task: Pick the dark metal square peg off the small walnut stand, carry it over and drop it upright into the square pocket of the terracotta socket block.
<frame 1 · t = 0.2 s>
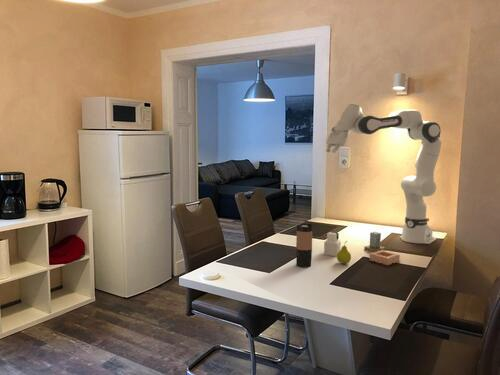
hand: (330, 152, 229), 54 cm above the table, tool tilted 30°, fingers open, 8 cm apart
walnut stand: (374, 250, 224), on the table
medicine bottle: (332, 254, 217), on the table
terracotta socket: (384, 260, 206), on the table
travel mug: (303, 265, 198), on the table
fruit: (343, 263, 201), on the table
metal peg: (374, 247, 224), point 2 cm above the table, touching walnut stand
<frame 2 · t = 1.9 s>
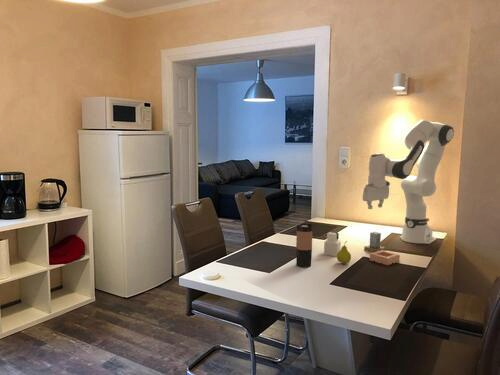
hand: (375, 208, 221), 24 cm above the table, tool pointing down, fingers open, 8 cm apart
nothing on the table moved.
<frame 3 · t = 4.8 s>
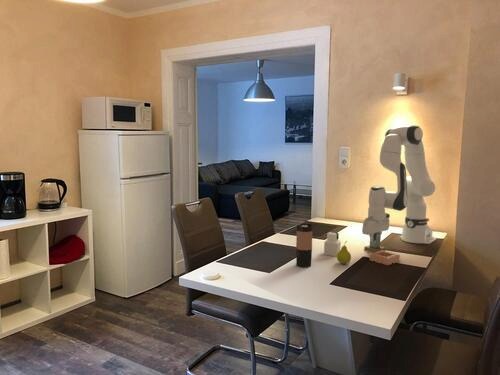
hand: (375, 240, 223), 6 cm above the table, tool pointing down, fingers closed on metal peg, 4 cm apart
metal peg: (374, 247, 224), point 2 cm above the table, touching gripper, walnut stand
everything else where it was.
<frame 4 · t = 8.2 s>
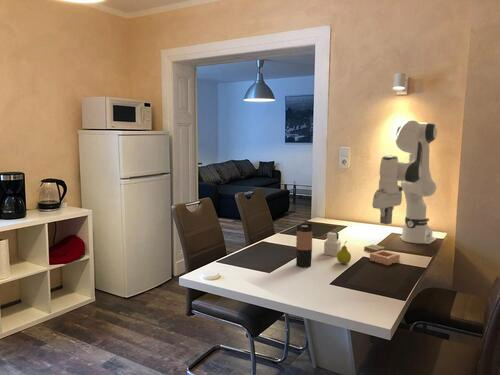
hand: (386, 215, 203), 23 cm above the table, tool pointing down, fingers closed on metal peg, 4 cm apart
metal peg: (385, 223, 203), point 19 cm above the table, touching gripper
everything else where it was.
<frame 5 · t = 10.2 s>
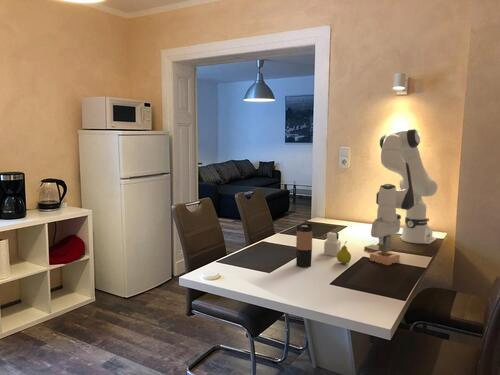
hand: (384, 243, 204), 9 cm above the table, tool pointing down, fingers closed on metal peg, 4 cm apart
metal peg: (384, 250, 205), point 5 cm above the table, touching gripper
everything else where it was.
when the fingers open (5 cm above the table, at t = 11.6 s): metal peg drops 2 cm, resting in terracotta socket.
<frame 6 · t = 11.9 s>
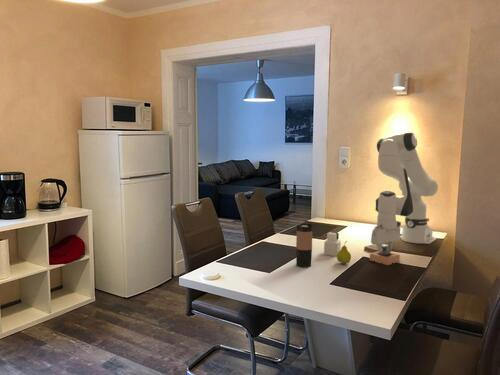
hand: (384, 250, 205), 5 cm above the table, tool pointing down, fingers open, 7 cm apart
metal peg: (384, 260, 206), resting in terracotta socket
everything else where it was.
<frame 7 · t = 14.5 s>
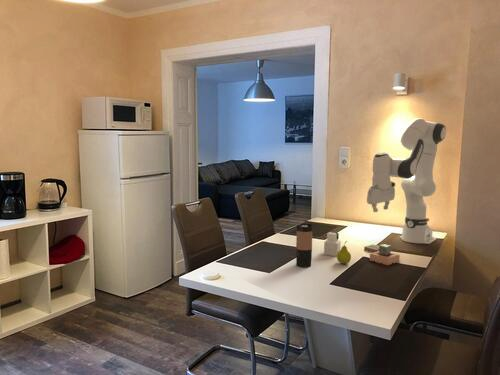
hand: (380, 210, 211), 24 cm above the table, tool pointing down, fingers open, 8 cm apart
nothing on the table moved.
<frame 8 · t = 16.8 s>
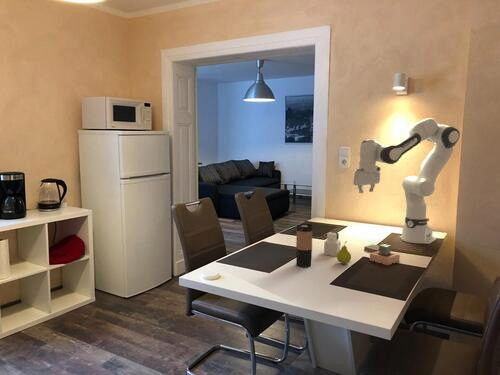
hand: (366, 192, 230), 31 cm above the table, tool pointing down, fingers open, 8 cm apart
nothing on the table moved.
at the end: metal peg 0.1 cm off-centre on the terracotta socket, point 0.0 cm above the terracotta socket's base; metal peg tilted 0°; the gripper is holding nothing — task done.
